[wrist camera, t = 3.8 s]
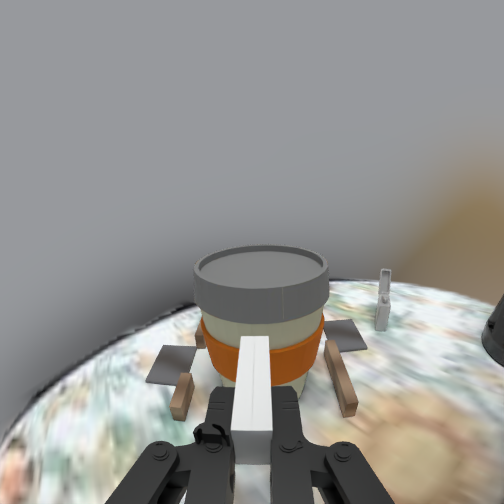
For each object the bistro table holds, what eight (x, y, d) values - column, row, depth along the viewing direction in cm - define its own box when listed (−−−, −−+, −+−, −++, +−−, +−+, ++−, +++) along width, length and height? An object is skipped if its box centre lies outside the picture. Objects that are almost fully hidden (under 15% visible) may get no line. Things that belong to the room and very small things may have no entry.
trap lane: (396, 407, 23) (402, 393, 22) (131, 413, 24) (124, 400, 24) (340, 301, 49) (341, 290, 48) (184, 305, 50) (183, 294, 49)
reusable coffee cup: (259, 343, 38) (256, 238, 34) (338, 377, 30) (354, 256, 25) (187, 386, 29) (164, 265, 25) (270, 446, 21) (269, 307, 17)
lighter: (385, 331, 38) (394, 283, 35) (375, 330, 38) (383, 282, 36) (384, 310, 44) (390, 266, 42) (375, 309, 45) (380, 266, 42)
